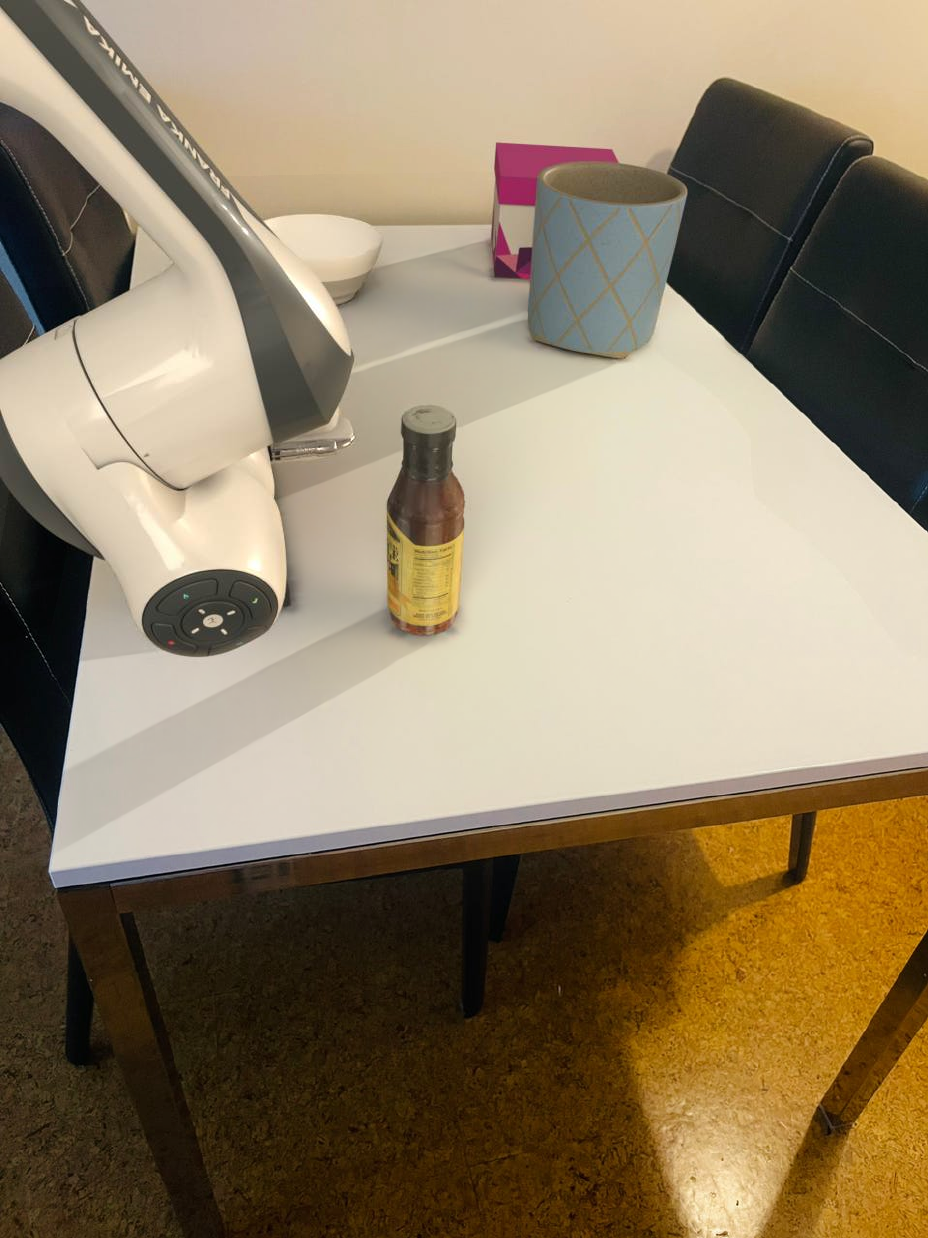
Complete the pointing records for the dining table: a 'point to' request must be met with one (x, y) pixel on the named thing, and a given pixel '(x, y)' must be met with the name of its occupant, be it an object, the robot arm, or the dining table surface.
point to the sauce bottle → (425, 525)
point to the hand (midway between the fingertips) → (193, 369)
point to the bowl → (331, 249)
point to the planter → (601, 254)
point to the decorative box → (524, 199)
